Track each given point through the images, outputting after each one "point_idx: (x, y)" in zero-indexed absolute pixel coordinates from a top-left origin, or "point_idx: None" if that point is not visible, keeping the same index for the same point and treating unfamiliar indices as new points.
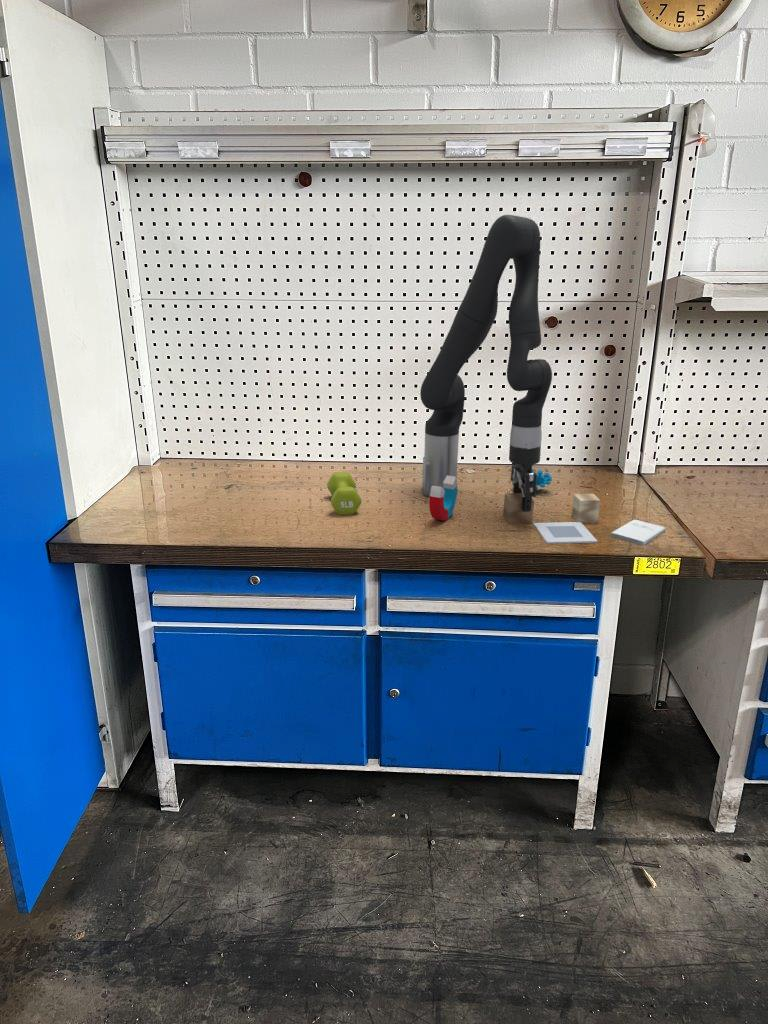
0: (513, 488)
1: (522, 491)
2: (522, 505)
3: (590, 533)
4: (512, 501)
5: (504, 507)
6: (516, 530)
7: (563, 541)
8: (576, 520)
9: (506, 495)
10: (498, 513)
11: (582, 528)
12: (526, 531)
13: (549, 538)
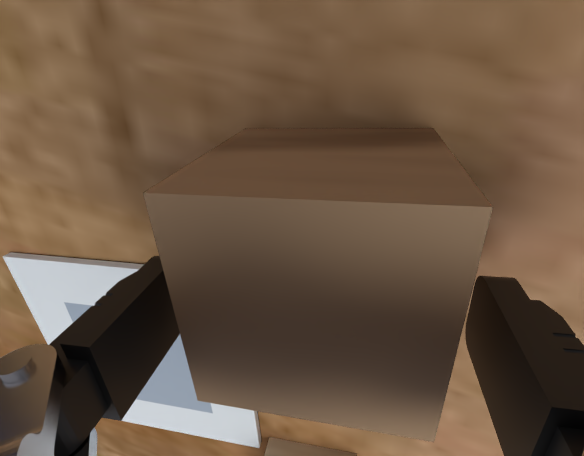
0: (565, 375)
1: (7, 410)
2: (125, 282)
3: (144, 424)
4: (151, 217)
5: (414, 147)
6: (131, 151)
7: (36, 318)
8: (288, 444)
9: (373, 203)
10: (477, 91)
11: (190, 424)
12: (130, 206)
13: (46, 279)
